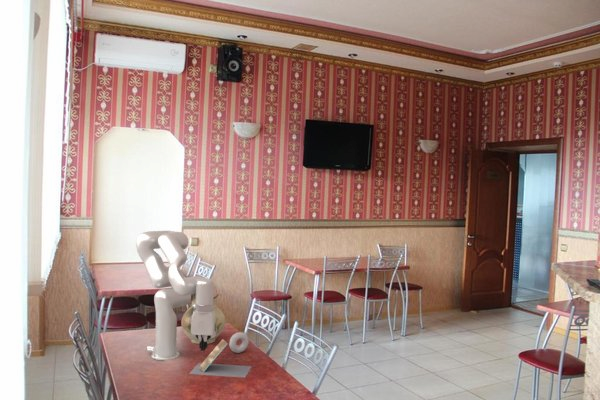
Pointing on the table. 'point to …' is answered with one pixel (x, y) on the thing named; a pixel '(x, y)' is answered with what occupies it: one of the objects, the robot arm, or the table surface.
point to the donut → (243, 345)
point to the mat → (223, 370)
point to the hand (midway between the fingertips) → (203, 350)
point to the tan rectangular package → (213, 355)
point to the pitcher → (188, 319)
